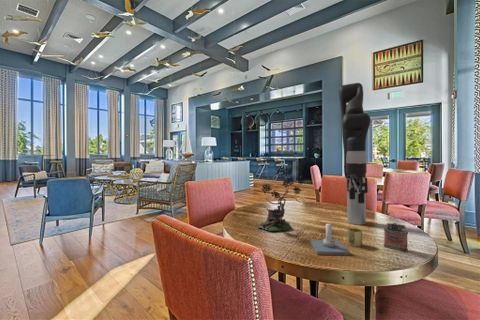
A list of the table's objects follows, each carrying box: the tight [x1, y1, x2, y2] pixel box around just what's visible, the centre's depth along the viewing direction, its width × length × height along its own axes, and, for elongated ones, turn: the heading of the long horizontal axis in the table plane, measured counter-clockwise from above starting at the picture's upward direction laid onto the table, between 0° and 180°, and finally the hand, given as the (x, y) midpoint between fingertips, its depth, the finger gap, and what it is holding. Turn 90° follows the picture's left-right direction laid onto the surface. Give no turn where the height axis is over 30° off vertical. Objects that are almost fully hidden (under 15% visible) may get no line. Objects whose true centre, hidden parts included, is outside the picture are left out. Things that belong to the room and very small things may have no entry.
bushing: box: [346, 227, 363, 248], centre depth 97 cm, size 5×5×6 cm
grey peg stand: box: [309, 223, 351, 256], centre depth 93 cm, size 12×12×10 cm
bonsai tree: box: [257, 166, 306, 232], centre depth 125 cm, size 35×24×32 cm
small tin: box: [383, 222, 409, 253], centre depth 92 cm, size 8×3×10 cm, turn 45°
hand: (356, 201), depth 97 cm, fingers open, 8 cm apart
